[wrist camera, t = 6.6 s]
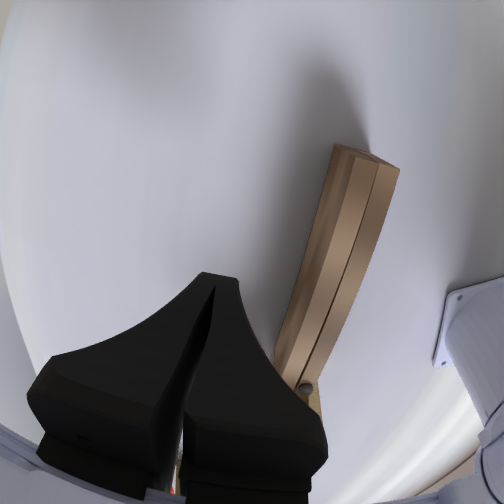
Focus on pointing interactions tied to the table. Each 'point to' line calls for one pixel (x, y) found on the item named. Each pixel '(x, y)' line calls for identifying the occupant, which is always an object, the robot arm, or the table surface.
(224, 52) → the table surface
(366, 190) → the tong arm
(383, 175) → the bar
